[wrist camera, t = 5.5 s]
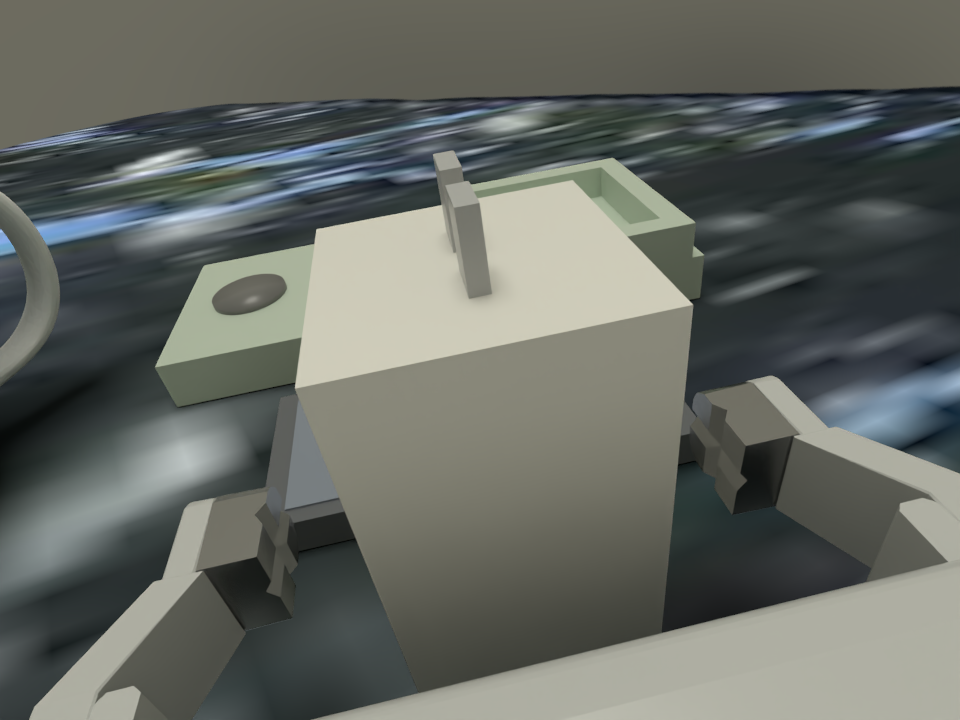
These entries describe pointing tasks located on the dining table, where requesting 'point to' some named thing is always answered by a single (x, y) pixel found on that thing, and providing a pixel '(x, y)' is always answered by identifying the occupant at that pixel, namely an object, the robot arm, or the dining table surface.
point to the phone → (311, 485)
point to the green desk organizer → (286, 274)
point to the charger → (499, 422)
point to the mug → (29, 290)
